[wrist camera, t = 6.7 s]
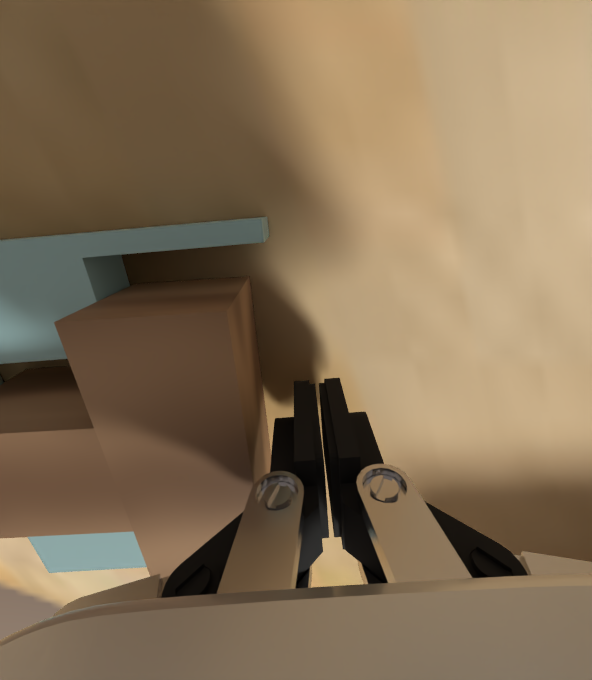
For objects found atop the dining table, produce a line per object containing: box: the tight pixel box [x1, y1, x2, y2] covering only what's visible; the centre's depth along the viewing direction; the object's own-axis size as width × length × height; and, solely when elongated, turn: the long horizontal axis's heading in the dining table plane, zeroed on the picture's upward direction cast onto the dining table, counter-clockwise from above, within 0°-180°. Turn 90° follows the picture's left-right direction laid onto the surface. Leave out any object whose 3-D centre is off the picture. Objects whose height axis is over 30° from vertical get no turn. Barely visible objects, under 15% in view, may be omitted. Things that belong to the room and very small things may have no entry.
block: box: [0, 276, 271, 578], centre depth 11 cm, size 10×9×4 cm
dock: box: [0, 217, 269, 573], centre depth 12 cm, size 14×12×2 cm
